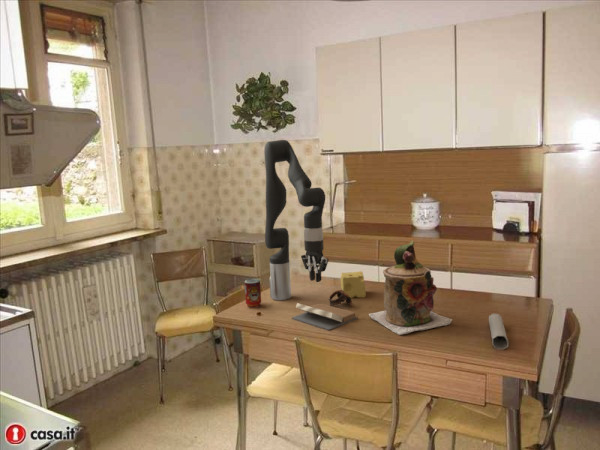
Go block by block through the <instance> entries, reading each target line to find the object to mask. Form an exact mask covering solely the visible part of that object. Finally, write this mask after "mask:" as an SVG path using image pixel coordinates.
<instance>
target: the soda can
mask: <svg viewBox="0 0 600 450" xmlns="http://www.w3.org/2000/svg"><path fill="white" fill-rule="evenodd" d="M261 293H262V292H261V279H259V278H255V277H251V278H247V279H245V281H244V295H245V296H244V299H245V304H246V305H247V308H251V309H252V308H253V309H254V308H259V307H260V306H261V303H262V295H261Z"/></svg>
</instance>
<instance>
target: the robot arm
mask: <svg viewBox="0 0 600 450" xmlns="http://www.w3.org/2000/svg"><path fill="white" fill-rule="evenodd" d="M263 150H264V153H263V154H264V165H265V166H264V167H265V214H266V215H265V228H264V231H265V232H264V243H265V247H266V248H267V249H271V250H272V249H280V250H278V251H277V252H276V253H274V254H271V255H270V256H269V272H270V277H269V278H268V279H269V280H268V281H269V291H270V292H269V293H270V295H269V296H270V298H272V300H275V301H285V300H289V299H291V298H292V287H291V285H292V284H291V270H290V269H291V267H290V235H289V234H290V233H289V231H288V229H287V228H286V227H278V228H274V227H275V224H276V223H277V222H276V221H277V219H278V218H279V216H281V214H282V213H283V211H284V209H285V207H286V204H287V188H286V186H285V184H284V183H283V181H282V180H281V179H280V177H279V174H278V173H277V170H276V163H282V162H287V163H288V164H289V165H288V171H287V177H288V179H289V182H290V183H291V185H292V186H293V187H294V190H295V193H296V196H297V200H298V203H299V204H300V205H301V206H302V207H305V208H308V207H309V208H310V207H312V209H311V210H310V211H308V212H305V213H304V215H303V226H304V228H303V229H304V230H303V241H304V250H305V254H303V255H300V256H301V261H302V263H303V266H304V269H305V270H308V272H309V280H310V281H311V282H312V281H315V282H317V283H320V282H321V281H322V273H323V272H325V271H326V269H327V266H328V264H329V258H328V257H327V258H326V257H325V256H324V253H323V251H324V247H325V246H324V231H323V220H322V219H323V218H322V217H323V213H324V208H325V204H326V193H325V191H324V189H322V187H312V185H313V184H312V180H311V179H310V177H309V175H308V174H307V173H306V172H305V171H304V169H303V167H302V165H301V163H300V162H299V159H298V157H297V155H296V153H295V150H294V148H293V147H292V145H291V143H290V142H289V141H288V140H286V139H278V140H277V139H276V140H270V141H267V142H266V143H265V144H264V149H263Z"/></svg>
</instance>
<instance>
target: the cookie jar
mask: <svg viewBox="0 0 600 450" xmlns="http://www.w3.org/2000/svg"><path fill="white" fill-rule="evenodd" d="M414 245H415V241H414V240H411V241H410V243H408V244H404V245H400V246H398V247H397V248H395V251H394V253H393V254H394V255H393V256H394V257H393V258H394V261H395V265H393V266H387V267H386V268H384V269H383V271H382V273H383V276H384V278H385V280H384V291H383V307H384V309H385V310H382V311H381V310H380V311H376V312H372V313H368V315H369V318H370V319H372V320H373V321H376V322H377V323H378V324H380V325H381V326H383V327H385V328H386V329H388V330H390V331H391V332H392V333H394V334H396V335H399V336H402V335H406V334H411V333H414V332H416V331H425V330H430V329H433V328H435V329H436V328H439V327H443V326H448V325H450V324H452V323H451V322H452V321H453V319H452V318H449V317H447V316H442V315H439V314H438V313H435V312H433V310H434V306H435V305H434V303H435V301H434V300H435V299H434V295H435V294H436V291H437V290H438V289H437V288H438V287H437V286H436V285H435V284H434V277H432V271H431V269H429V268H427V267H425V266H423V265H422V263H420V262H419V260H418V258H417V255H416V251H415V246H414Z"/></svg>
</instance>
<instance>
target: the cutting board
mask: <svg viewBox="0 0 600 450" xmlns="http://www.w3.org/2000/svg"><path fill="white" fill-rule="evenodd" d="M310 307H313V308H317V309H320V310H324V311H327V312H331V313H334V314H336V315H339V316H341V317H343V320H342V322H339V321H336V320H332V319H329V318H325V317H322V316H319V315H315V314H312V313H309V312H305V311H304V312H303V313H301V314H298V315H295V316H292V317H291V320H294V321H297V322H300V323H303V324H307V325H310V326H312V327H315V328H318V329H319V328H320V329H323V330H325V331H328V332H329V331H332V330H334V329H336V328H338V327H341V326H343V325H346V324H349V323H351V322H354V321H355V320H357V319H358V316H356V312H353V311H351V310H347V309H344V308H343V309H342V308H339V307H335V306H330V304H325V303H321V302H320V303H317V304H313V305H311V306H310Z"/></svg>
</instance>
